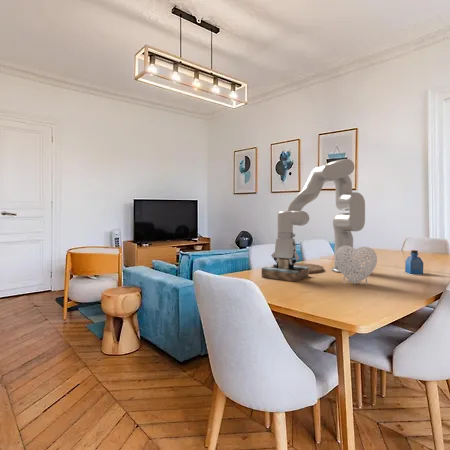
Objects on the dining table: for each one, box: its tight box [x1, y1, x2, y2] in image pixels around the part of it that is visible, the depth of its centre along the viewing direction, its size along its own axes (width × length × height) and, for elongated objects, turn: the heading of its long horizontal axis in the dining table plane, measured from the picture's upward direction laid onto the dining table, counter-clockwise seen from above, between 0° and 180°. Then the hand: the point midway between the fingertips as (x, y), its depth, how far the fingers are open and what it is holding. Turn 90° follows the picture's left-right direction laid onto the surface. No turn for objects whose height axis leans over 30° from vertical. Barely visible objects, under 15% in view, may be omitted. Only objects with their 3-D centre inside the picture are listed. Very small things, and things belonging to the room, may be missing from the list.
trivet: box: [294, 262, 325, 275], centre depth 187 cm, size 25×25×2 cm
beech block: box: [278, 258, 290, 270], centre depth 168 cm, size 5×5×9 cm
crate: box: [261, 263, 309, 282], centre depth 168 cm, size 18×16×5 cm
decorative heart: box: [334, 246, 378, 286], centre depth 151 cm, size 18×11×17 cm, turn 57°
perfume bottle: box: [404, 249, 424, 275], centre depth 173 cm, size 6×6×12 cm
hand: (285, 271), depth 168 cm, fingers open, 5 cm apart
